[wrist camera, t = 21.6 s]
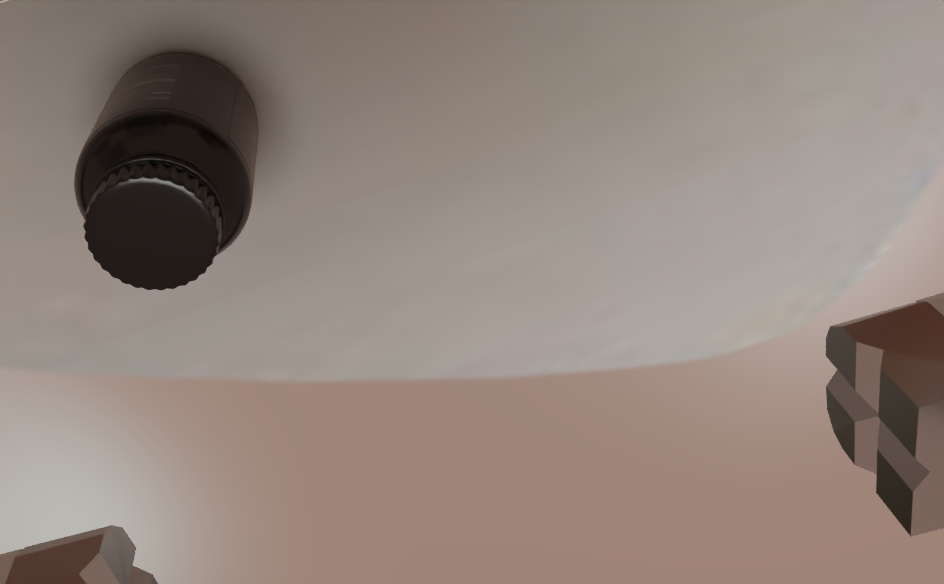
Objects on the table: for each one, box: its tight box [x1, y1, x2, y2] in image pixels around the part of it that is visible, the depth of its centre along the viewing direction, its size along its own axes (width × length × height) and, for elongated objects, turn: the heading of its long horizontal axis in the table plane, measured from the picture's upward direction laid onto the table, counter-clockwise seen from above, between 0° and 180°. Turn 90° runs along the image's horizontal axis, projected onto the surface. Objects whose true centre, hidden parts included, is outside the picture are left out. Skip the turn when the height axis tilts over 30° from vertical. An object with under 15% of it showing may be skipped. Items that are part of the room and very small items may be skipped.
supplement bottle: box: [74, 53, 258, 290], centre depth 38 cm, size 7×7×12 cm
